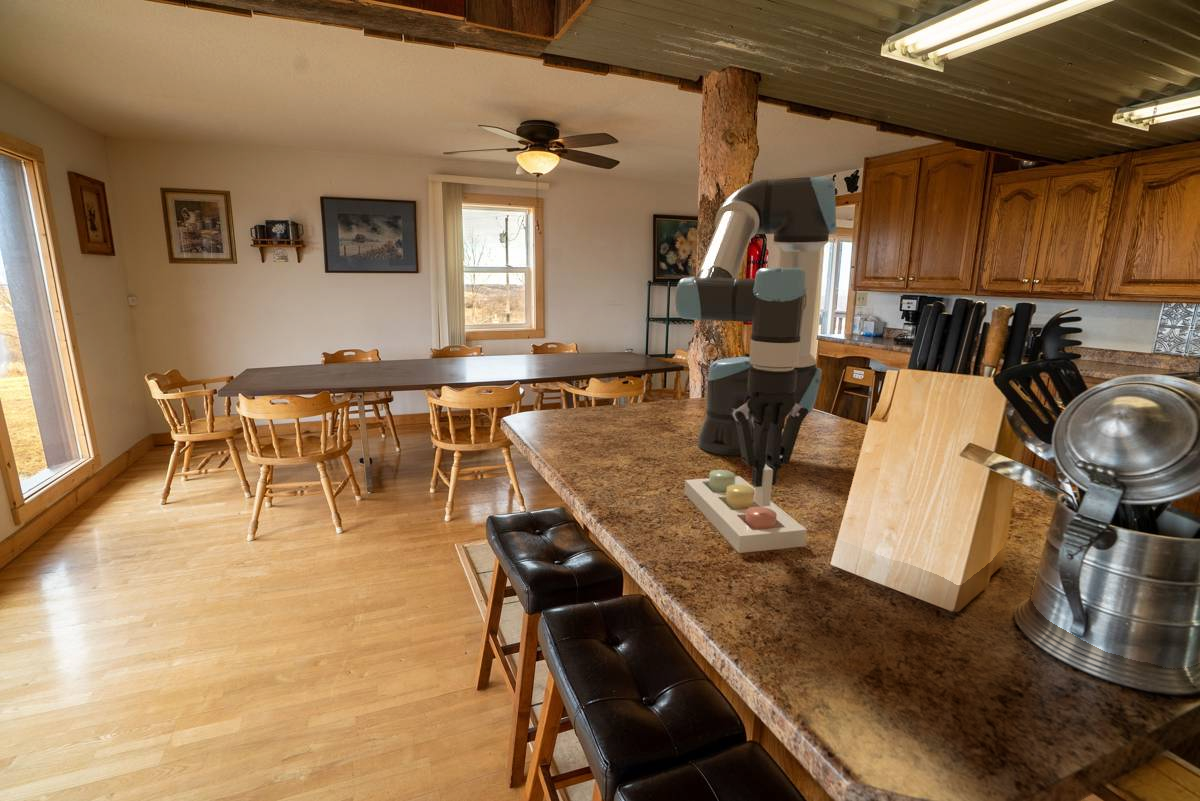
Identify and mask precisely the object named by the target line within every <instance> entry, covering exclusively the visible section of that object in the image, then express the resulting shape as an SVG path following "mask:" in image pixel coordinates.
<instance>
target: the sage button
mask: <svg viewBox="0 0 1200 801" xmlns="http://www.w3.org/2000/svg"><path fill="white" fill-rule="evenodd" d="M735 476H736V474H735V472H733V471H730V470H725V469H714V470H711V471H710V472H709V477H708V478H709V489H710V490H711V491H713V492H717V493H721V492H726V491H727V487H728V486H730V485H735Z"/></svg>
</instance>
